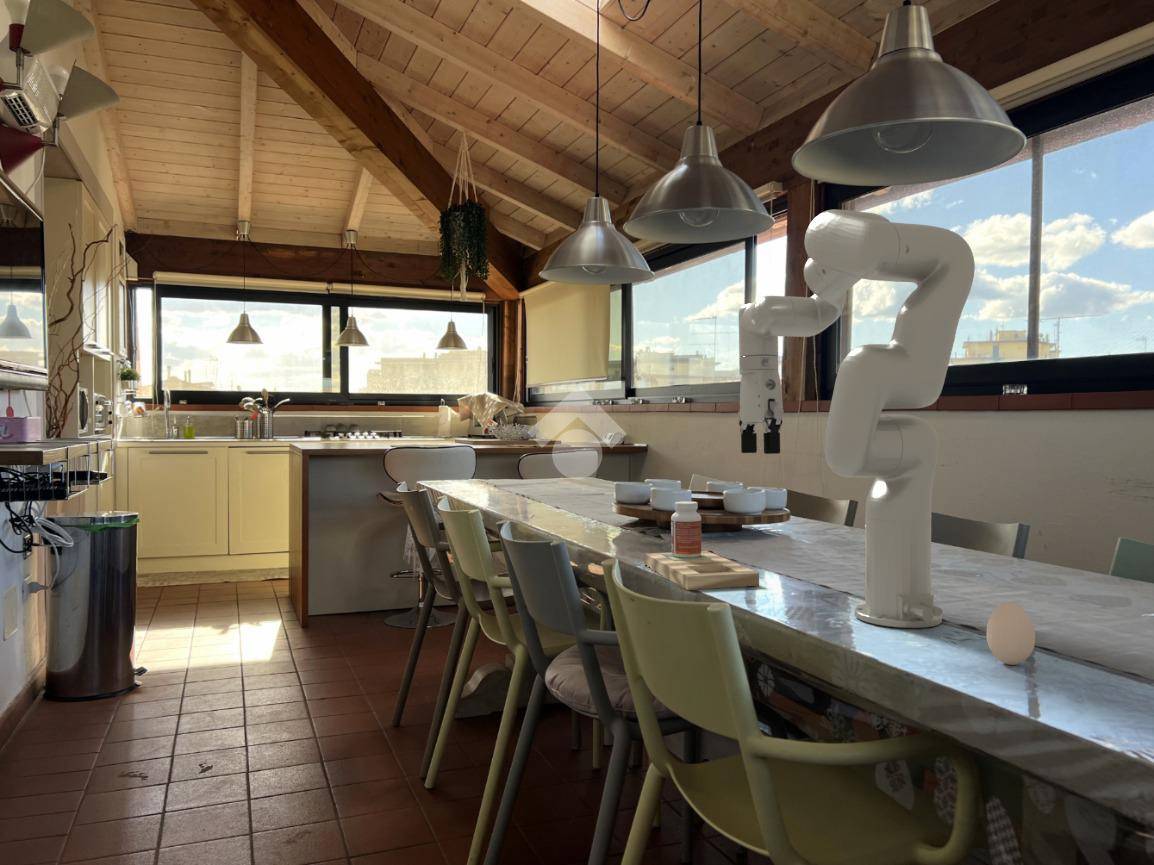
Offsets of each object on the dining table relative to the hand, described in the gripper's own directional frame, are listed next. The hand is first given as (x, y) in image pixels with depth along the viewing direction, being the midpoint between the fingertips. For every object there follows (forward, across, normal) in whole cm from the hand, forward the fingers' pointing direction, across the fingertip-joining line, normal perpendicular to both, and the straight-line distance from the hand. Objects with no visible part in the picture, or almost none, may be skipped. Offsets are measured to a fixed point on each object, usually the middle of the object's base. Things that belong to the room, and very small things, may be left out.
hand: (760, 453), depth 164 cm
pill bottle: (+21, +11, +12) cm, 27 cm away
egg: (+26, -61, -3) cm, 66 cm away
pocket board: (+24, +4, +12) cm, 27 cm away
